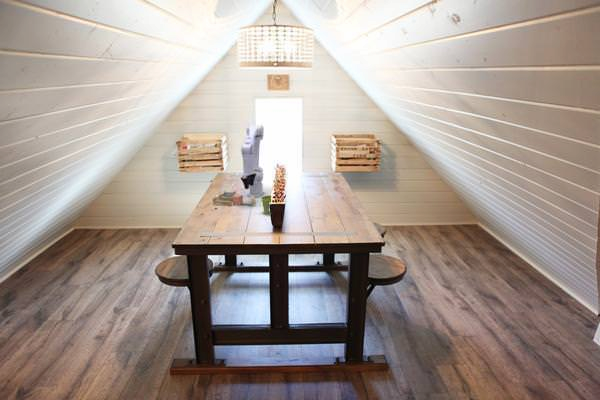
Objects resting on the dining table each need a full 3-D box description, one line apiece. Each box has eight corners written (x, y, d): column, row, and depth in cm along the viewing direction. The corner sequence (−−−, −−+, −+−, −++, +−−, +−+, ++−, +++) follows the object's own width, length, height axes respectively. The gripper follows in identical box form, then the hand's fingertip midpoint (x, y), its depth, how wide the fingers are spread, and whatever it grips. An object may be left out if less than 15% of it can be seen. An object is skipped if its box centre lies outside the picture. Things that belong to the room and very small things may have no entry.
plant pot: (274, 215, 247) (273, 200, 244) (258, 214, 250) (257, 199, 247) (280, 210, 255) (280, 196, 253) (265, 209, 258) (264, 194, 256)
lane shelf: (224, 197, 282) (224, 191, 281) (241, 198, 279) (241, 192, 278) (213, 204, 267) (212, 198, 266) (230, 206, 264) (230, 199, 263)
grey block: (229, 198, 279) (228, 190, 277) (236, 199, 278) (235, 190, 276) (226, 200, 275) (225, 192, 273) (233, 201, 274) (232, 192, 272)
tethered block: (235, 203, 270) (235, 193, 268) (256, 204, 267) (255, 194, 265) (232, 205, 266) (232, 195, 264) (253, 206, 263) (253, 196, 261)
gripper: (250, 167, 254) (251, 191, 258) (258, 162, 267) (259, 184, 271) (238, 167, 256) (239, 190, 260) (247, 161, 269) (248, 183, 273)
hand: (249, 187), depth 266 cm, fingers open, 7 cm apart
